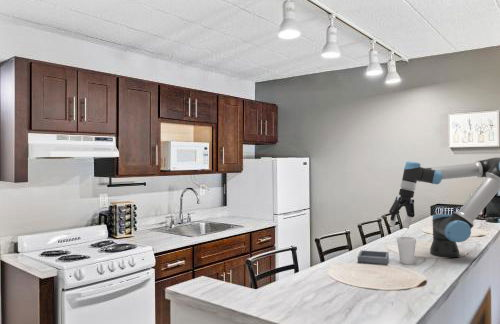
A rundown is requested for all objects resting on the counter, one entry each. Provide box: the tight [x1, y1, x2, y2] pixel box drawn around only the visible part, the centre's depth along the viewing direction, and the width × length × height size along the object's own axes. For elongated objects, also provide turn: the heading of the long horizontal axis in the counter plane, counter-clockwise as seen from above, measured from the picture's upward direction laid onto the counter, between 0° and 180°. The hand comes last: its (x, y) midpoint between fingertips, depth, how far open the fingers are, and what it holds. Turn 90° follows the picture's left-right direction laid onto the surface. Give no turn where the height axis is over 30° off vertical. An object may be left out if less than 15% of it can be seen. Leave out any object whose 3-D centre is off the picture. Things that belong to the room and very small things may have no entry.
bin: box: [357, 250, 390, 266], centre depth 212 cm, size 15×15×4 cm
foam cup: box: [396, 236, 417, 265], centre depth 206 cm, size 10×9×13 cm
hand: (399, 227), depth 212 cm, fingers open, 13 cm apart
